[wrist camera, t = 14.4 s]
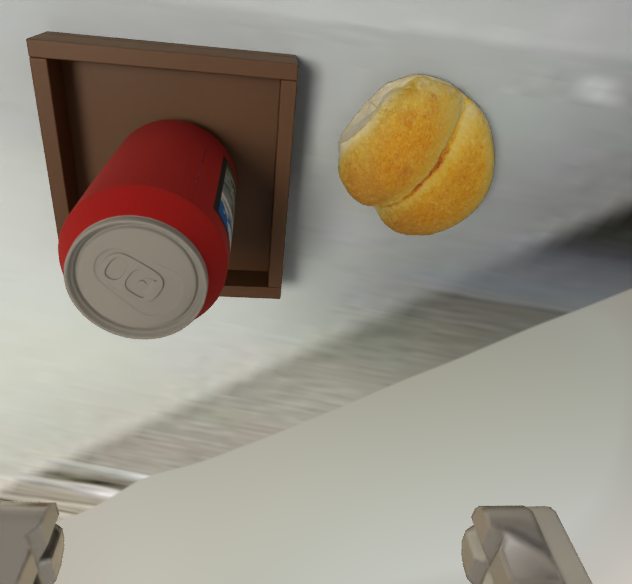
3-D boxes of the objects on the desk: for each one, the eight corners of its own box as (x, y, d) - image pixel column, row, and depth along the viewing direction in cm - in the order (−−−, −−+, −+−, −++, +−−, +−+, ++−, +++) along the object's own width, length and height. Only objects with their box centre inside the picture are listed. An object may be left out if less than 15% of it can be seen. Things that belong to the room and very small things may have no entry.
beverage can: (195, 249, 34) (166, 378, 23) (94, 185, 31) (11, 298, 21) (262, 165, 31) (260, 269, 21) (158, 87, 29) (99, 163, 18)
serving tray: (46, 31, 27) (25, 38, 25) (295, 54, 29) (298, 63, 27) (79, 267, 35) (66, 290, 32) (279, 276, 36) (280, 299, 34)
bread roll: (416, 244, 36) (432, 275, 32) (313, 158, 32) (319, 183, 29) (516, 148, 33) (545, 171, 29) (415, 42, 29) (434, 53, 26)
